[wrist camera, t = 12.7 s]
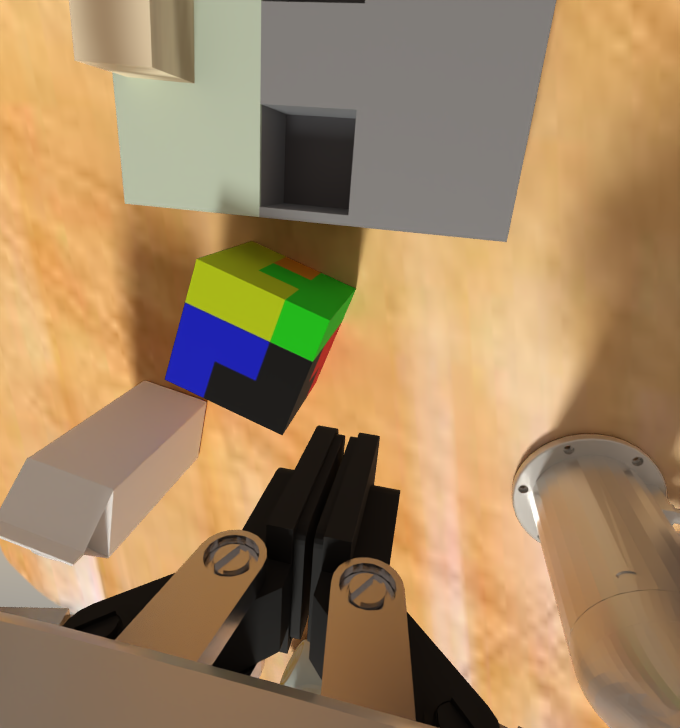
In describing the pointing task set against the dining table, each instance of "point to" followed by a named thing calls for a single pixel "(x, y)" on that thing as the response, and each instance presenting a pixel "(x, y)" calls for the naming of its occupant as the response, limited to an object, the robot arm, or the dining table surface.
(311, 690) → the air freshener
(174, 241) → the dining table surface
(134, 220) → the dining table surface
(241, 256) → the puzzle toy
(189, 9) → the birch block
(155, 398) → the milk carton
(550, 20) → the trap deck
